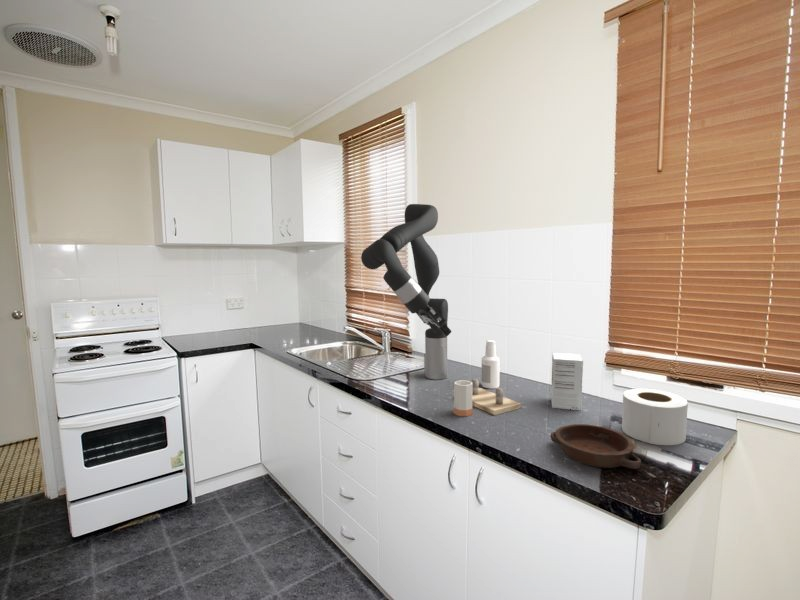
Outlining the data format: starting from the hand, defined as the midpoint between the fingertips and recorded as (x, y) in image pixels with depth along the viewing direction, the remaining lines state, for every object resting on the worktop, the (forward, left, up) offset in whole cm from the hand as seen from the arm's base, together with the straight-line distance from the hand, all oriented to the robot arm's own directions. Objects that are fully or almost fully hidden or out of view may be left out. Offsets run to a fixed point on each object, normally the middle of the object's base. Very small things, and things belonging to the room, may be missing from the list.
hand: (443, 332), depth 132 cm
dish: (+44, +14, -27) cm, 53 cm away
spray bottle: (-12, +32, -27) cm, 44 cm away
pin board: (+1, +18, -26) cm, 32 cm away
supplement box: (+17, +39, -27) cm, 50 cm away
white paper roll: (+45, +40, -27) cm, 66 cm away
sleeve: (+4, +5, -26) cm, 27 cm away
